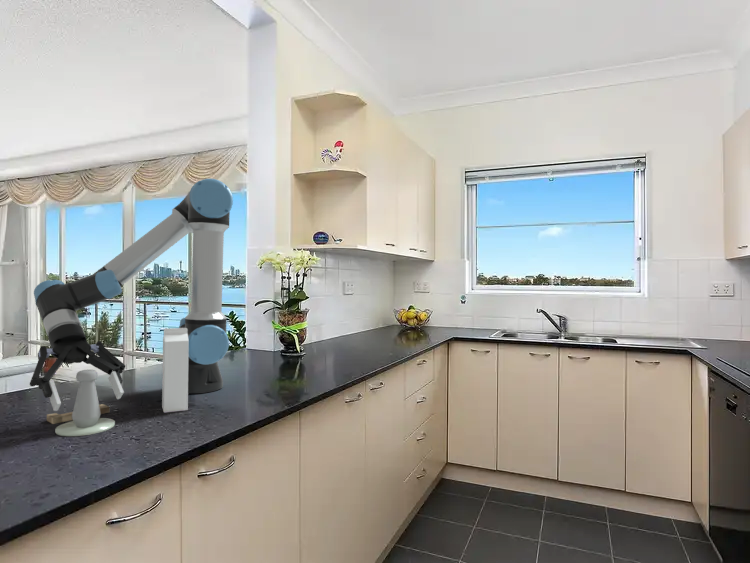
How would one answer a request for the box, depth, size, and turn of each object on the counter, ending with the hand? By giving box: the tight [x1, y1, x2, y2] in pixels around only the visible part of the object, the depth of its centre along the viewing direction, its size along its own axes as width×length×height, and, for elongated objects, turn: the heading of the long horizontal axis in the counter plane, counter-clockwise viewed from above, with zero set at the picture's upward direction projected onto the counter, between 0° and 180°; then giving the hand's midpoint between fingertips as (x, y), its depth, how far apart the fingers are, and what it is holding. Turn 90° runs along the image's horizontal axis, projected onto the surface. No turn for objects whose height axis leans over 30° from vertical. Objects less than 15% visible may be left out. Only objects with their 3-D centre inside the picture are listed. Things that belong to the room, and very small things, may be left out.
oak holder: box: [46, 403, 110, 425], centre depth 120 cm, size 4×13×2 cm, turn 143°
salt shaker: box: [72, 369, 102, 428], centre depth 112 cm, size 6×6×13 cm
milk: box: [161, 327, 189, 413], centre depth 129 cm, size 6×6×22 cm
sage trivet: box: [54, 417, 116, 437], centre depth 112 cm, size 12×12×1 cm
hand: (90, 401), depth 110 cm, fingers open, 13 cm apart
